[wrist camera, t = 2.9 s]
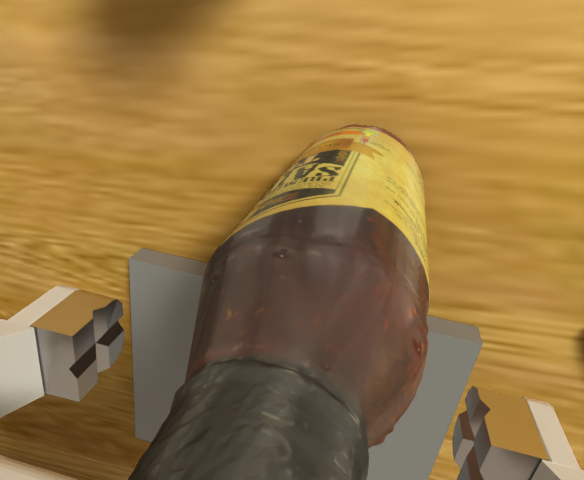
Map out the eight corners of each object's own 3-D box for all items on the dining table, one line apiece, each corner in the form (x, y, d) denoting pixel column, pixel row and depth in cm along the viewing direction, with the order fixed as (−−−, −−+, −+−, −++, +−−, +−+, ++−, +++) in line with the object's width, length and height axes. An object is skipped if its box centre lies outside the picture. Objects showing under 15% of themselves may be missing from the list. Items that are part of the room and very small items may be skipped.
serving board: (477, 326, 24) (482, 343, 22) (409, 500, 30) (410, 522, 29) (142, 247, 27) (128, 258, 25) (146, 421, 33) (135, 437, 32)
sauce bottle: (351, 92, 20) (19, 405, 3) (450, 178, 21) (712, 904, 3) (271, 192, 23) (-138, 655, 6) (360, 265, 24) (239, 894, 6)
